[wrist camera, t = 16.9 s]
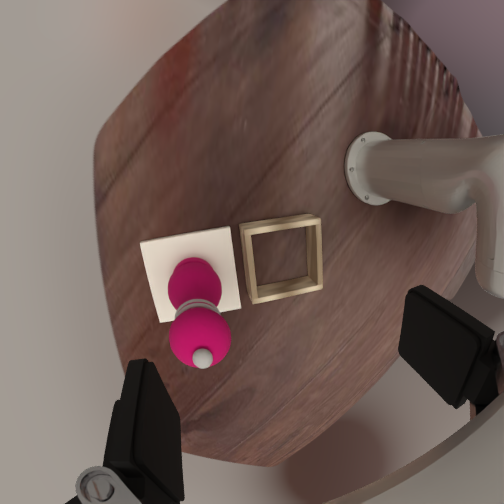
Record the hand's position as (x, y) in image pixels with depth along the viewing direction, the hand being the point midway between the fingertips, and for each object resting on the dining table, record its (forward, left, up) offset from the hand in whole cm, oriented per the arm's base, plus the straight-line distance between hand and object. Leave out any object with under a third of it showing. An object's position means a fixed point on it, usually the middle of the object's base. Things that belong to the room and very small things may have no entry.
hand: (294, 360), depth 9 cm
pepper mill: (+4, +9, -32) cm, 33 cm away
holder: (-9, +8, -33) cm, 35 cm away
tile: (+4, +9, -33) cm, 34 cm away
